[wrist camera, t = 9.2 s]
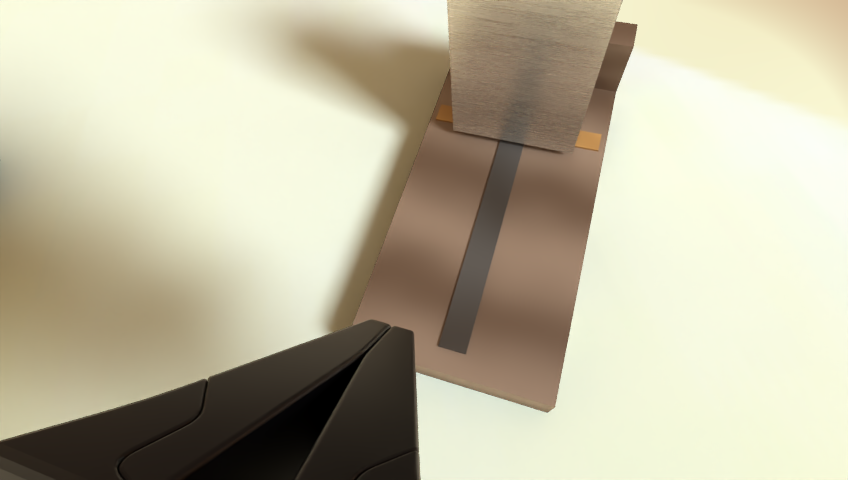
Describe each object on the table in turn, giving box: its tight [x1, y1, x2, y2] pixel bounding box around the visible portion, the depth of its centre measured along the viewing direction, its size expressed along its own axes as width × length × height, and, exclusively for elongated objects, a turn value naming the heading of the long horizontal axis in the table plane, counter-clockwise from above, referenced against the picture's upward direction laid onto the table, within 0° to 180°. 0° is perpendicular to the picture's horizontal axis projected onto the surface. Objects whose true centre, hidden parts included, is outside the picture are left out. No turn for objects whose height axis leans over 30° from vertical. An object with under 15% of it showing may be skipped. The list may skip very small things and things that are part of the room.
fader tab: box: [447, 0, 623, 154], centre depth 19 cm, size 3×7×12 cm, turn 73°
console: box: [352, 22, 637, 413], centre depth 23 cm, size 18×9×5 cm, turn 163°
